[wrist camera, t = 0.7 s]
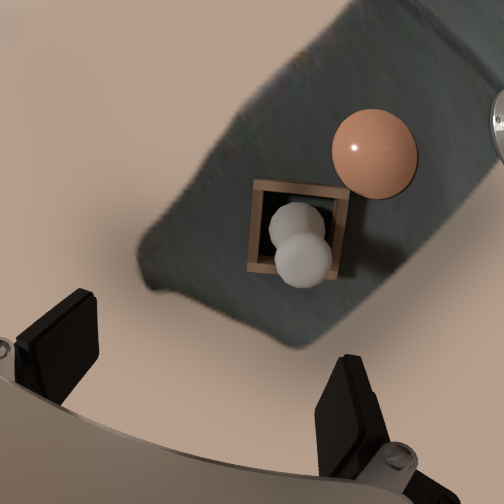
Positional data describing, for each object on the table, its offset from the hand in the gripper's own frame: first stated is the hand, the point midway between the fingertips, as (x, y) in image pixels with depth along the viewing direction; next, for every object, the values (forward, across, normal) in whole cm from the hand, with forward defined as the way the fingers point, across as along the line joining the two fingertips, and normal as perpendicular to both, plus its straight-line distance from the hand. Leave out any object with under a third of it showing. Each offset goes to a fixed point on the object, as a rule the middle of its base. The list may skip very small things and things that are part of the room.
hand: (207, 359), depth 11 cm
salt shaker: (+25, -4, 0) cm, 26 cm away
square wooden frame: (+25, -4, 0) cm, 25 cm away
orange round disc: (+25, -11, -10) cm, 29 cm away
